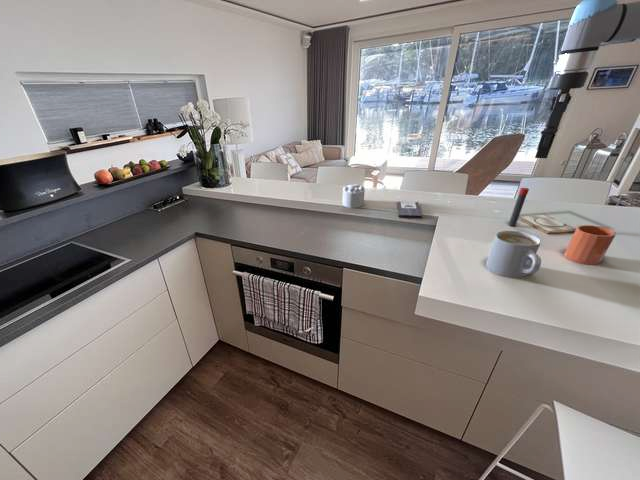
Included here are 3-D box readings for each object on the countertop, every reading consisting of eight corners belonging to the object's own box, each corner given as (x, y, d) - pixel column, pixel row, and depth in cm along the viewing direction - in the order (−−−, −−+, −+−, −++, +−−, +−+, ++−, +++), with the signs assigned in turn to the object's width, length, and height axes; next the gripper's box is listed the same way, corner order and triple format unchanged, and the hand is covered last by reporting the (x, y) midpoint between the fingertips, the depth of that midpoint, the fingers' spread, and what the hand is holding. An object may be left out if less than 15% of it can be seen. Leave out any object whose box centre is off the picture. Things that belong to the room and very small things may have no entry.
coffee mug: (479, 260, 89) (489, 231, 84) (515, 260, 87) (526, 230, 82) (503, 284, 78) (515, 252, 73) (544, 284, 76) (559, 251, 71)
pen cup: (583, 251, 89) (597, 224, 84) (608, 263, 82) (624, 235, 77) (557, 252, 89) (569, 226, 85) (579, 265, 82) (594, 237, 78)
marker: (513, 223, 109) (525, 187, 102) (517, 226, 107) (530, 189, 100) (506, 224, 109) (518, 187, 102) (510, 226, 107) (523, 189, 100)
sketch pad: (568, 213, 113) (569, 211, 112) (607, 230, 99) (608, 227, 98) (515, 217, 114) (516, 215, 113) (547, 234, 100) (548, 232, 100)
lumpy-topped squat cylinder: (363, 199, 148) (364, 182, 144) (364, 207, 137) (365, 190, 133) (342, 199, 150) (343, 183, 146) (342, 208, 140) (342, 190, 135)
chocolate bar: (399, 215, 123) (397, 201, 138) (398, 217, 124) (397, 203, 138) (421, 215, 120) (417, 201, 135) (421, 217, 121) (417, 203, 135)
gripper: (553, 73, 89) (528, 146, 99) (552, 74, 73) (523, 161, 83) (586, 70, 84) (557, 147, 95) (594, 70, 68) (557, 162, 79)
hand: (541, 153), depth 89 cm, fingers open, 13 cm apart
